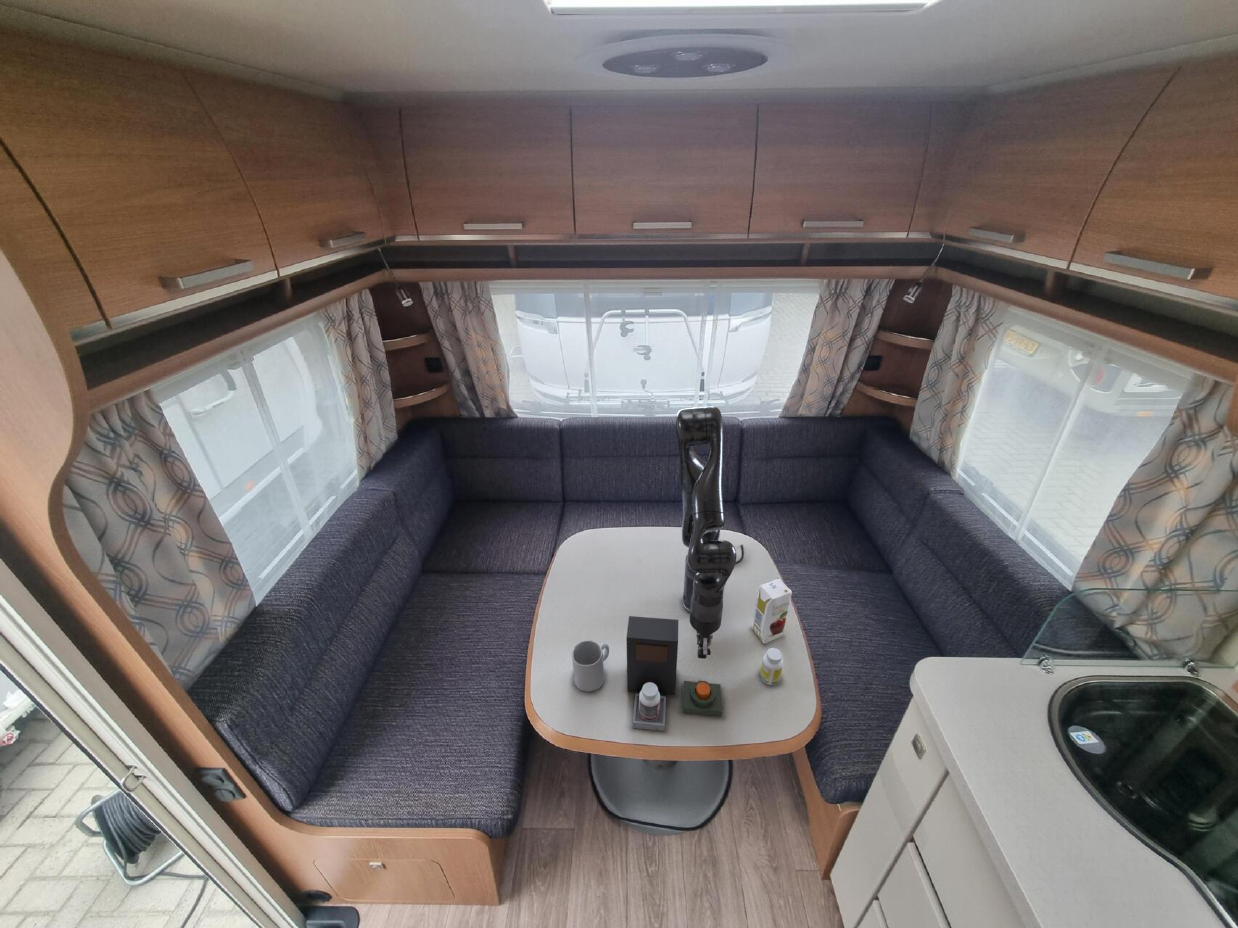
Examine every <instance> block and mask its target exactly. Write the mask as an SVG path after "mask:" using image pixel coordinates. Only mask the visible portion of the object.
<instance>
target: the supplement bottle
mask: <svg viewBox="0 0 1238 928" xmlns="http://www.w3.org/2000/svg"><path fill="white" fill-rule="evenodd" d="M761 661H762V662H761V666H760V667H761V668H760V672H759V676H760V679H761V680H762V681H763V683H765V684H766V685H769V686H776V685H777V684H778V683H779V682H780V679H781V675H782V672H783V667H784V661H783V654H782V651H780V650H779V649H778V648H775V647H770V648H768V649H767V650H766V653H765V654H764V655H763V657H762V660H761Z"/></svg>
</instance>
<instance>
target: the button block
mask: <svg viewBox="0 0 1238 928" xmlns="http://www.w3.org/2000/svg"><path fill="white" fill-rule="evenodd" d="M701 682H704V683H706V684H708V685H709V687H710V695H709V697H708V698H705V699H702V698H700V697H698V696H697V694H696V687H697V685H698V684H699V683H701ZM682 684H683V685H682V686H683V687H682V688H683V689H682V691H683V692H682V693H683V694H682V699H683V700H682V701H683V702H682V706H683V707H682V710H683V711H682V713H683V714H692V715H702V716H711V717H712V716H713V717H723V700H722V699H723V698H722V686H721V684H720V683H712V682H711V683H710V682H708V681H706V680H697V681H691V680H683V683H682Z"/></svg>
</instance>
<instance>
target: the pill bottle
mask: <svg viewBox="0 0 1238 928" xmlns="http://www.w3.org/2000/svg"><path fill="white" fill-rule="evenodd" d="M639 713H640V716H641V717H642V718H643V719H644V720H646V721H654V720H656V719H657V718H658V716H659V713H660V693H659V691H658V688H657V686H656V685H655V684H654V683H651V682H648V683H646V684H644V685H643V687H642V690H641V691H640V694H639Z"/></svg>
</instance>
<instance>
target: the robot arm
mask: <svg viewBox="0 0 1238 928" xmlns="http://www.w3.org/2000/svg"><path fill="white" fill-rule="evenodd" d="M675 430H676V431H675V432H676V438H677V446H678V447H677V448H678V453H679V455H678V456H679V466H680V467H679V468H680V470H679V471H680V477H679V479H680V494H681V495H680V496H681V505H682V506H681V507H682V517H681V518H682V520H681V542H682V544H683V546H685V547H686V548H688V549H687V554H686V556H685V563H684V578H683V579H684V580H683V591H682V606H683V608H684V610H686V611H687V612H689V624H690V627H692V628H693V629H694V630H695V631H696V632H695V634H696V635H695V636H696V637H695V638H696V646H697V658H698V659H702V660H705V659H707V656H711V654H712V651H711V648H710V646H711V645H712V640H713V639H714V634H715V633H717V631H719V629H720V628H721V626H722V618H723V609H724V594H725V587H726V584H727V582H728V580H729V578H730V577H731V575H732V573H733V571H734V569H735V567H736V565H738V564H740V563H741V562H742V561H743V560H744V557H745V549H744V545H743V544H740V550H741V556H740V558H739V560H737V551H736V547H735V546H734V544H733V543H732V542H731V541H728V540H726V539H725V540H724V539H720V536H721V530H722V529H723V528H724V526H725V511H724V510H725V509H724V499H723V469H724V422H723V416H722V412H721V410H720V408H719V407H717V406H700V407H687V408H683V409H680V410H679V411H678V412H677V414H676V419H675ZM698 446H699V447H700V446H710V447H709V454H708V459H707V461H706V462H705V460H703V459H702V458H701V457H700V456H699V455H698V454H697V453H696V451H695V450H694V447H698Z"/></svg>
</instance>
